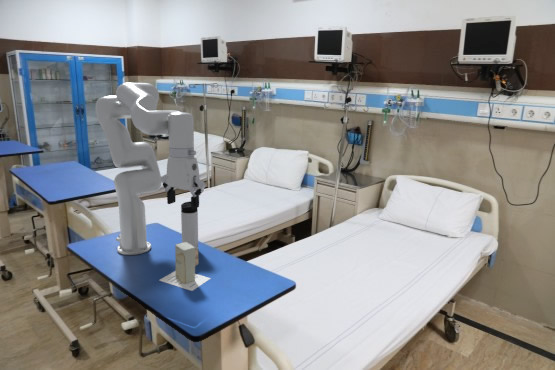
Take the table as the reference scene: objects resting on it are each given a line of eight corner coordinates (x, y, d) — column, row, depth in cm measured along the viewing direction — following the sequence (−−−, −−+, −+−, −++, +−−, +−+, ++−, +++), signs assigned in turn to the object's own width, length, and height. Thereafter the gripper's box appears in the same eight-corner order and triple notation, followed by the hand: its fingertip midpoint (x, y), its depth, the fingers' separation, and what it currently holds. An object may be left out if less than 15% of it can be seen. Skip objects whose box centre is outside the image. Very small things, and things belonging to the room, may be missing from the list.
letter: (158, 281, 132) (158, 280, 132) (179, 269, 141) (178, 268, 141) (192, 291, 126) (192, 290, 126) (210, 279, 134) (210, 278, 134)
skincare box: (175, 277, 134) (174, 244, 131) (187, 274, 137) (186, 241, 134) (184, 284, 129) (183, 250, 126) (196, 280, 132) (195, 247, 129)
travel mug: (202, 250, 157) (201, 202, 152) (188, 255, 152) (187, 206, 147) (192, 246, 161) (191, 199, 156) (179, 251, 156) (177, 202, 151)
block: (178, 267, 143) (178, 251, 141) (187, 262, 147) (187, 247, 146) (189, 270, 140) (189, 254, 139) (198, 265, 145) (198, 249, 143)
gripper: (211, 154, 122) (212, 207, 126) (168, 148, 130) (170, 198, 134) (196, 157, 116) (197, 213, 120) (152, 151, 123) (154, 204, 127)
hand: (183, 205), depth 127 cm, fingers open, 9 cm apart
